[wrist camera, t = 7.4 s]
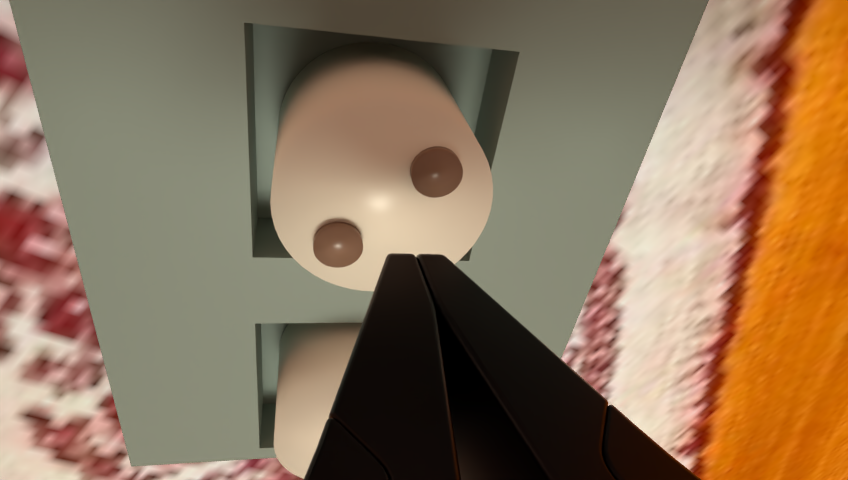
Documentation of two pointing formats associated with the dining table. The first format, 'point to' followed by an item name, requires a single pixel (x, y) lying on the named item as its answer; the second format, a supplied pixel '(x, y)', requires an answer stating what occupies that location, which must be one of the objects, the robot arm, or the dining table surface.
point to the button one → (308, 387)
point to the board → (254, 162)
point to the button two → (374, 166)
